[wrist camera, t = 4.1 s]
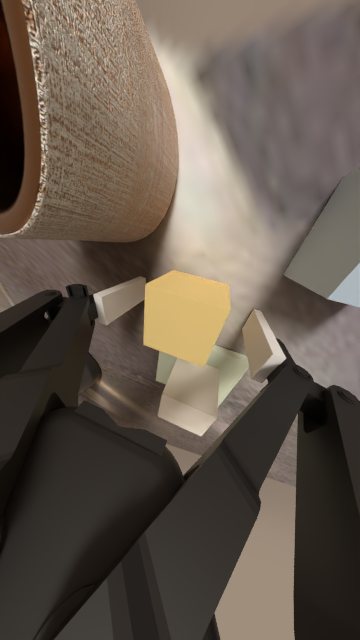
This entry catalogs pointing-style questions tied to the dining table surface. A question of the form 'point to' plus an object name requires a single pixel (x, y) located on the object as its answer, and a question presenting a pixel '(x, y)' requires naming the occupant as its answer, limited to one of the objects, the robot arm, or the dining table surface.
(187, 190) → the dining table surface
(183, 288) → the ochre brick
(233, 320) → the dining table surface
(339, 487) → the robot arm
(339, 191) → the blue brick
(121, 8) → the planter
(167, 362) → the baseplate
